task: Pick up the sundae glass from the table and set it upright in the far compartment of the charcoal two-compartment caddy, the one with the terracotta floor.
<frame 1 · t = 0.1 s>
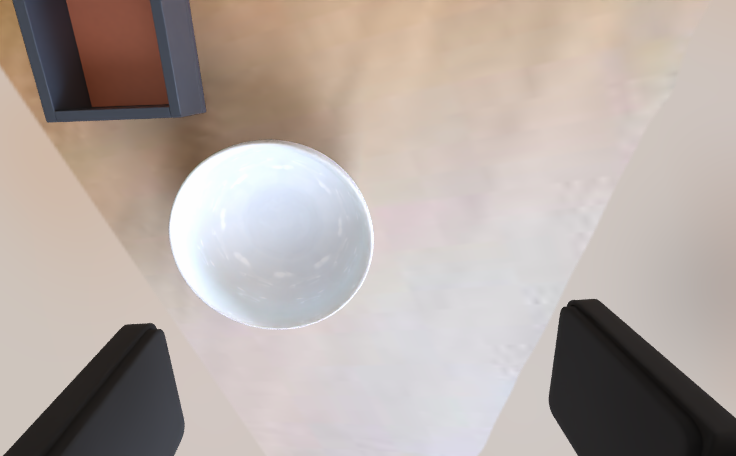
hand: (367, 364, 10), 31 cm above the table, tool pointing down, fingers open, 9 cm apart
cereal bowl: (284, 217, 41), on the table
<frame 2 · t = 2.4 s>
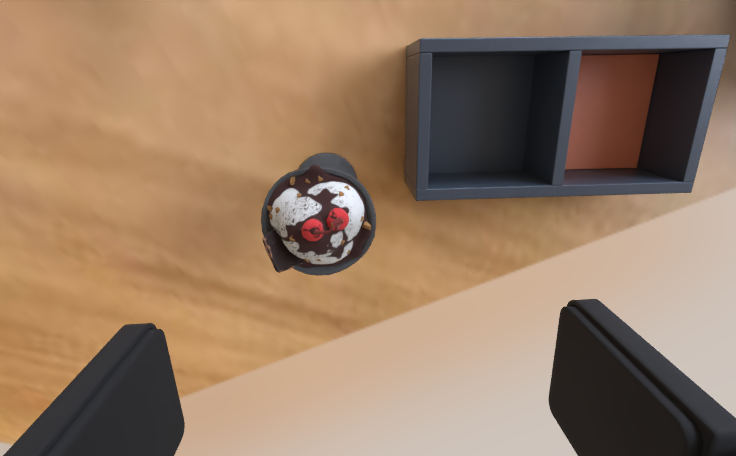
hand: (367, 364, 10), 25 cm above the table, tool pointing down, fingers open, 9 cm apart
caddy: (528, 114, 33), on the table
sundae: (326, 182, 34), on the table
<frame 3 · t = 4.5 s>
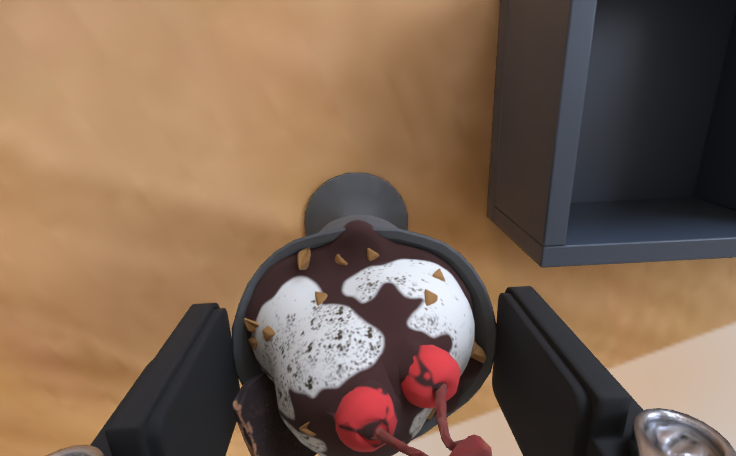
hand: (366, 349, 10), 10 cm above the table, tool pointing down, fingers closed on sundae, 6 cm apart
caddy: (704, 100, 19), on the table
sundae: (356, 220, 20), on the table, touching gripper
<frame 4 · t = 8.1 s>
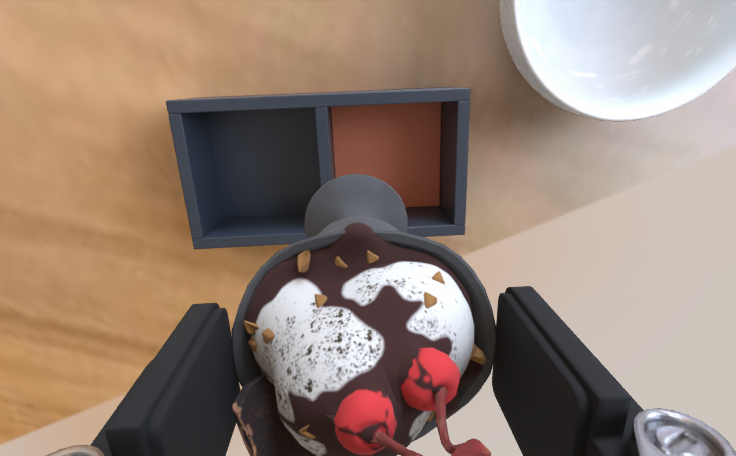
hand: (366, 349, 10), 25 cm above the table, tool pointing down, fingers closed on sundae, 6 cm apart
caddy: (329, 157, 34), on the table
sundae: (356, 221, 20), point 15 cm above the table, touching gripper
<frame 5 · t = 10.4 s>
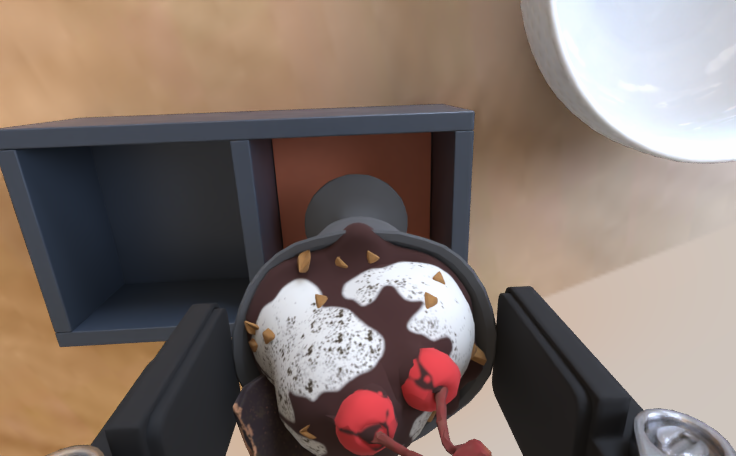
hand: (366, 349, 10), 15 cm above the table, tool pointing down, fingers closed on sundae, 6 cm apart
caddy: (274, 201, 24), on the table
sundae: (356, 221, 20), point 4 cm above the table, touching gripper
when the fingers open (11 cm above the table, at t = 11.8 s): sundae stays where it is, resting on caddy.
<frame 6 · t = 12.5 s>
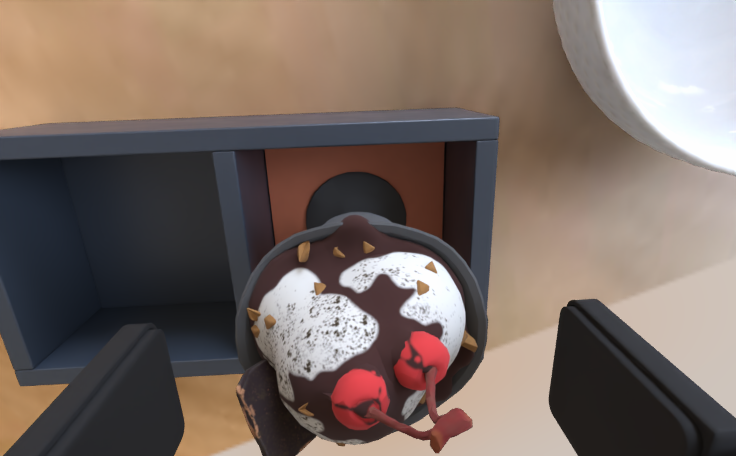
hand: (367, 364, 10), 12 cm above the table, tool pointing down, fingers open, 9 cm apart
caddy: (268, 216, 21), on the table
sundae: (356, 218, 21), point 1 cm above the table, touching caddy
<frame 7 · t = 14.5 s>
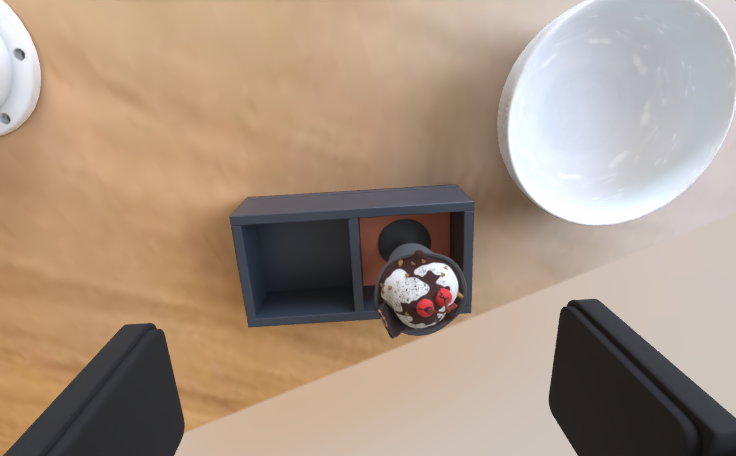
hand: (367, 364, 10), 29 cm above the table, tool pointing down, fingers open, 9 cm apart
cereal bowl: (572, 111, 37), on the table
caddy: (356, 241, 40), on the table
sundae: (404, 242, 39), point 1 cm above the table, touching caddy
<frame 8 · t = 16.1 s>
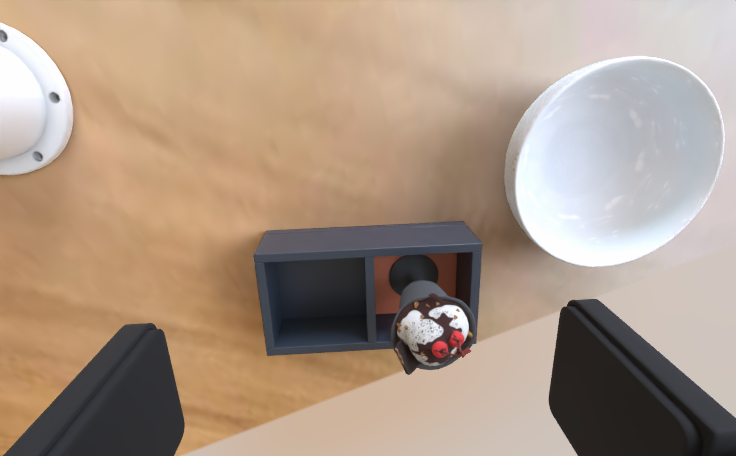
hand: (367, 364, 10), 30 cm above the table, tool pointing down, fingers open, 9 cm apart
cereal bowl: (572, 156, 40), on the table
caddy: (367, 272, 42), on the table
sundae: (413, 274, 42), point 1 cm above the table, touching caddy
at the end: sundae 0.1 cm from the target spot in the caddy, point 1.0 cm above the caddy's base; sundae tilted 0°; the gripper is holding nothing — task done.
